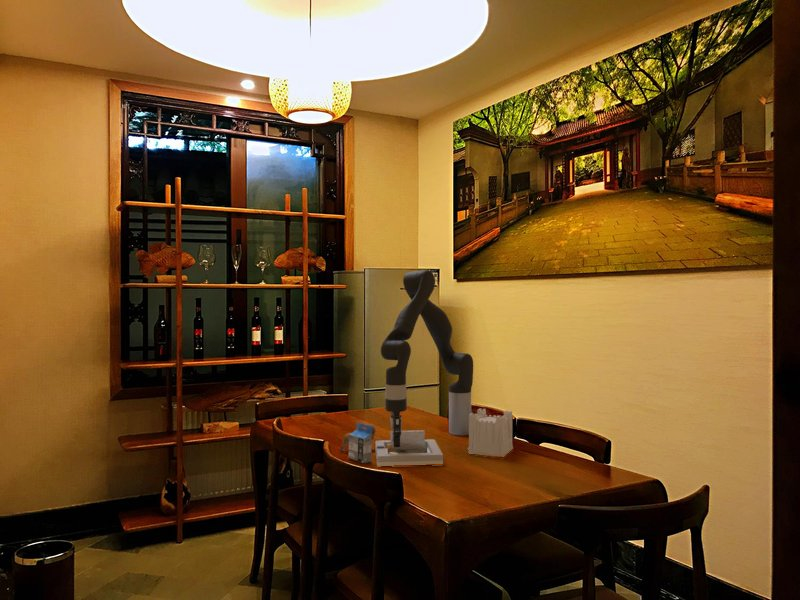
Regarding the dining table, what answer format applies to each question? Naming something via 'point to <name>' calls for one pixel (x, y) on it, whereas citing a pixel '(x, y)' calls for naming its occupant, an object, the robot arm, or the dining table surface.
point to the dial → (408, 442)
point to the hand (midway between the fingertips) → (396, 444)
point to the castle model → (490, 434)
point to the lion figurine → (346, 437)
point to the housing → (408, 455)
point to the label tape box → (360, 444)
